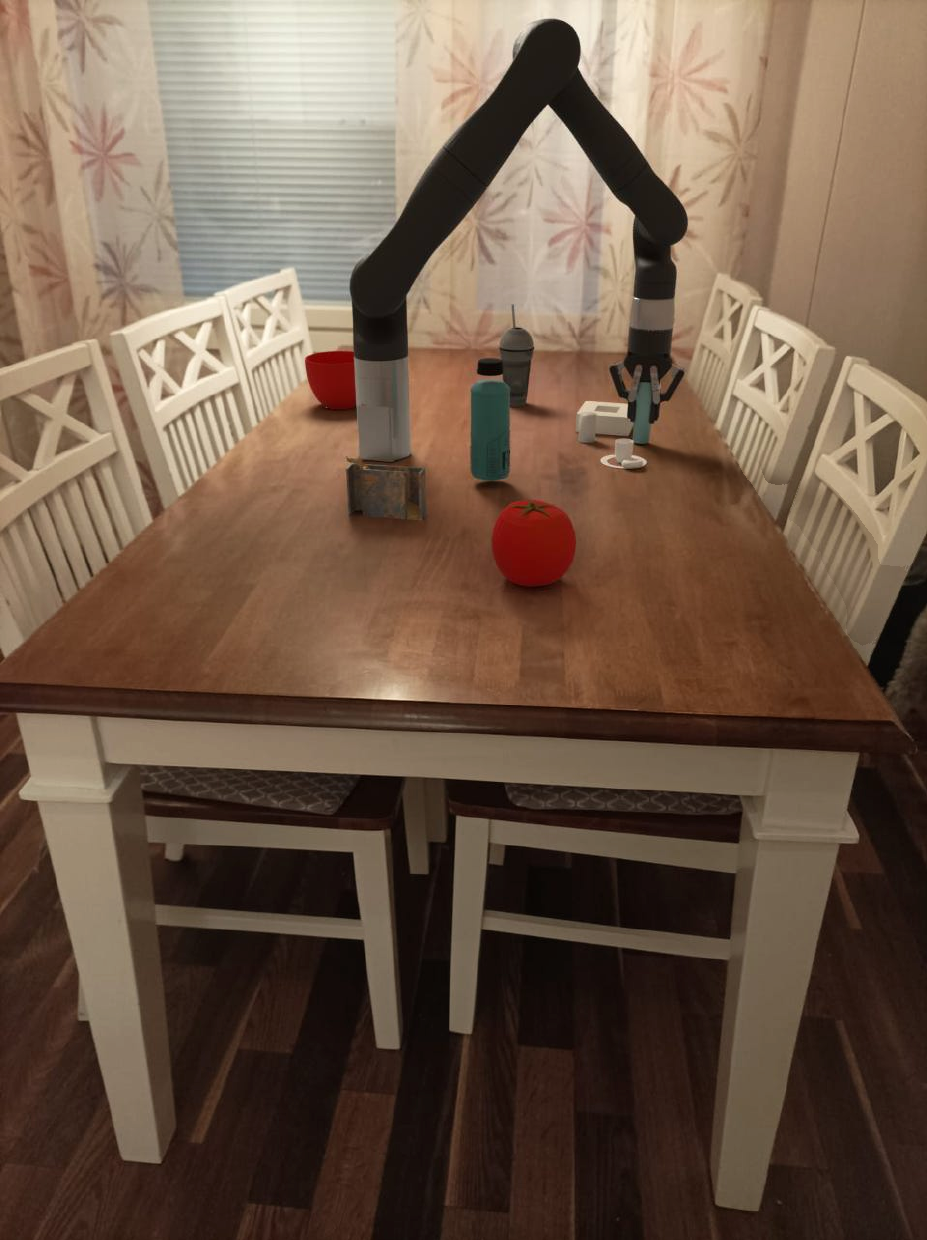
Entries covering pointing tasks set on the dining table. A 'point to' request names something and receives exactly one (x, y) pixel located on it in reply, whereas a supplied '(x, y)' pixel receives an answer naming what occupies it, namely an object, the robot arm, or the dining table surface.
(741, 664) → the dining table surface
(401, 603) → the dining table surface
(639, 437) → the long pin
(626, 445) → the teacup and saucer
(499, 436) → the beverage bottle
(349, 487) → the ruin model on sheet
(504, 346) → the beverage cup
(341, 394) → the ceramic cup
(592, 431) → the short pin
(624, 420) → the hole block
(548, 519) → the tomato
